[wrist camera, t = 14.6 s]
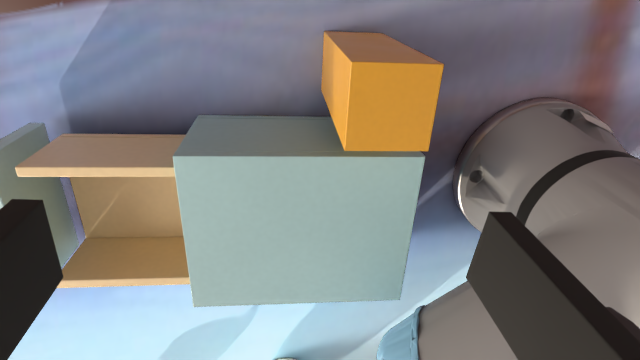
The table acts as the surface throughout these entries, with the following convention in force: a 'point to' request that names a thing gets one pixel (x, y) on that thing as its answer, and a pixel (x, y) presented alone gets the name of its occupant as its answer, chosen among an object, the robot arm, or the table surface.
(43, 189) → the drawer
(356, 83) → the orange rectangular block
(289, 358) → the trinket box
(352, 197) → the cabinet
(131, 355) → the table surface
